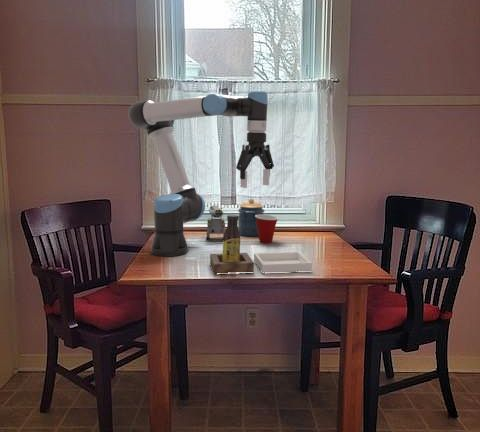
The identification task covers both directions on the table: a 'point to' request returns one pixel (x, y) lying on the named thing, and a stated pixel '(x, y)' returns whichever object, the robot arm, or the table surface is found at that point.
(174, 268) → the table surface
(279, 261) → the plastic tray
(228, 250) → the sauce bottle
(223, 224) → the figurine
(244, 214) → the canister
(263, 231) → the plastic cup
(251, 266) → the walnut holder
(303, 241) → the table surface
